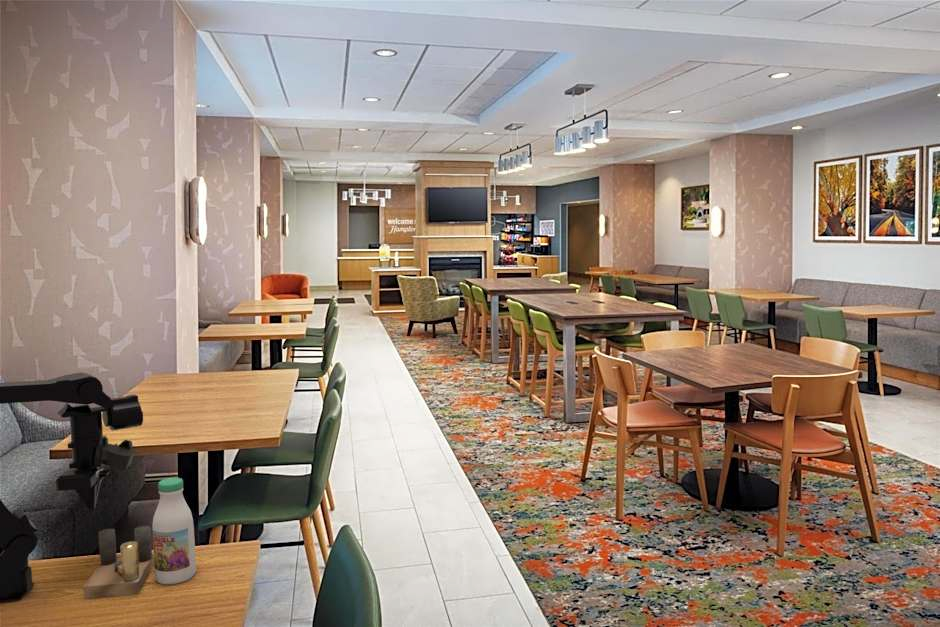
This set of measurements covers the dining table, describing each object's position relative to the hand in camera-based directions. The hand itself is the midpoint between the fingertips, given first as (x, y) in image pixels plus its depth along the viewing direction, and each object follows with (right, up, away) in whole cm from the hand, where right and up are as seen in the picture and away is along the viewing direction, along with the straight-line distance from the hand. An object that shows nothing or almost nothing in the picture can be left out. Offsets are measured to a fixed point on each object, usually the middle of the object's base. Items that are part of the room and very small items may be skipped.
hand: (91, 509), depth 145 cm
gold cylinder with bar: (+11, -11, -7) cm, 17 cm away
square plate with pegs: (+8, -13, -4) cm, 16 cm away
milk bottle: (+18, -13, -2) cm, 23 cm away
